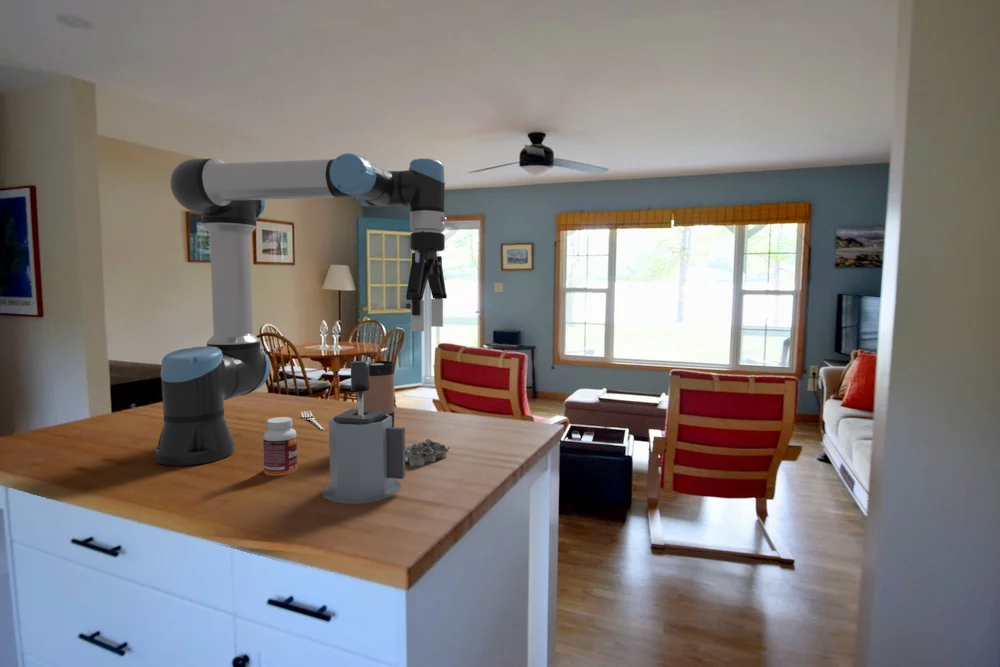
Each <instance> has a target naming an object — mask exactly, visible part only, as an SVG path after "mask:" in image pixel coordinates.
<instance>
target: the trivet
mask: <svg viewBox="0 0 1000 667" xmlns="http://www.w3.org/2000/svg"><path fill="white" fill-rule="evenodd" d="M401 487H402V484H401V482H400V481H399V479H398V480H397V479H396V478H393V486H392V487H391V488H390V489H389V490H388V491H387V492H386V493H385V494H384V495H380V496H375V497H371V498H366V499H362V500H358V499H346V498H338V497H337V496H336V495H335V494H334V493H333V492H332V491H331V490H330V482H329V483H328V484H326V485H325V486H324V487H323V488H322V490H321V496H322V497H323V498H324V499H326V500H328V501H330V502H334V503H340V504H347V505H348V504H352V505H353V504H355V505H356V504H366V503H373V502H378V501H381V500H384V499H385V500H386V499H388V498H390V497H392V496H394V495H396V494H398V492H399V491H400V490H401Z"/></svg>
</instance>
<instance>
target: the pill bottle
mask: <svg viewBox="0 0 1000 667" xmlns="http://www.w3.org/2000/svg"><path fill="white" fill-rule="evenodd" d="M266 427H267V430H266V431H265V432H264V434H263V436H262V437H263V438H262V440H263V473H264V474H265V475H267V476H285V475H289V474H292V473H295V472H296V471H297V470H298V443H297V442H298V437H297V436H298V435H297V431H296V430H295V429H294V428H292V427H293V418H291V417H288V416H279V417H271V418H268V419H267V420H266Z"/></svg>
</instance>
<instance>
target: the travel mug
mask: <svg viewBox="0 0 1000 667" xmlns="http://www.w3.org/2000/svg"><path fill="white" fill-rule="evenodd" d="M394 371H395V370H394V362H393V361H389V360H376V361H375V362H373V363H369V386H370V390H368V391H363V406H364V409H369V410H386V414H388V415H390V416H392V427H395V379H394V378H395V377H394V375H395V374H394V373H395V372H394Z"/></svg>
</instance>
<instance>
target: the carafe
mask: <svg viewBox="0 0 1000 667" xmlns="http://www.w3.org/2000/svg"><path fill="white" fill-rule="evenodd" d="M358 423H364V424H363V425H358ZM328 437H329V441H328V442H329V444H328V445H329V483H330V490H331V491H332V492H333V493H334V494H335V495H336V496H337V497H338V498H346V499H358V500H362V499H366V498H371V497H375V496H380V495H384V494H385V493H386V492H387V491H388V490H389V489H390V488H391V487H392V486H393V478H394V479H396V480H397V479H398V480H400V479H401V480H403V479H405V478H406V463H405V448H406V427H398V426H397V427H396V426H394V427H392V416H390V415H388V414H386V410H369V409H364V415H358V408H350V409H348V410H345V411H344V412H342V413H339V414H337V415H335V416H333V417H331V418H329V419H328Z"/></svg>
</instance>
